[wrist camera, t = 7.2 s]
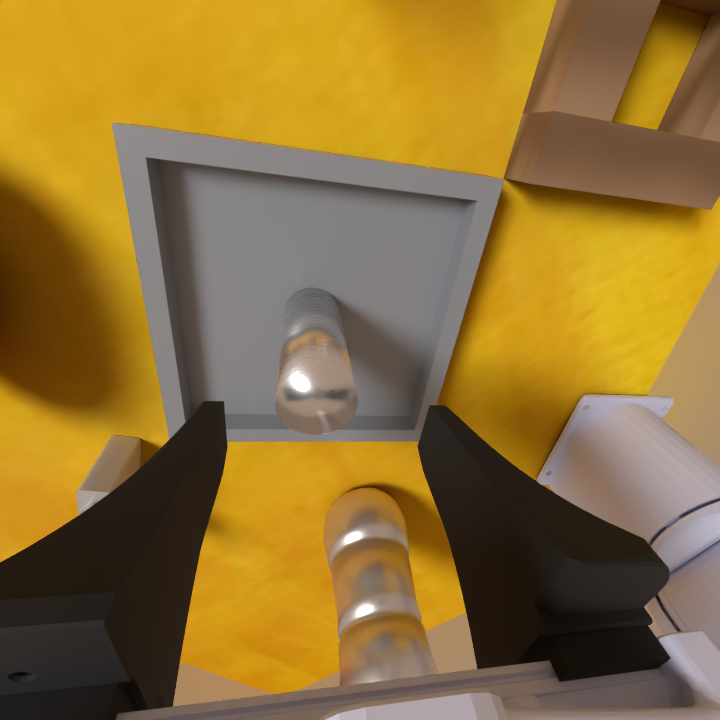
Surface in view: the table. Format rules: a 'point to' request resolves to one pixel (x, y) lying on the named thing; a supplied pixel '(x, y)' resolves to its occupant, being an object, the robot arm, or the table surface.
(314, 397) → the steel pin
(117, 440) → the lighter
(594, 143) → the block
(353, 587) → the plastic bottle
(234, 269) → the tray
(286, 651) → the table surface
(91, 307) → the table surface
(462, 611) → the table surface
